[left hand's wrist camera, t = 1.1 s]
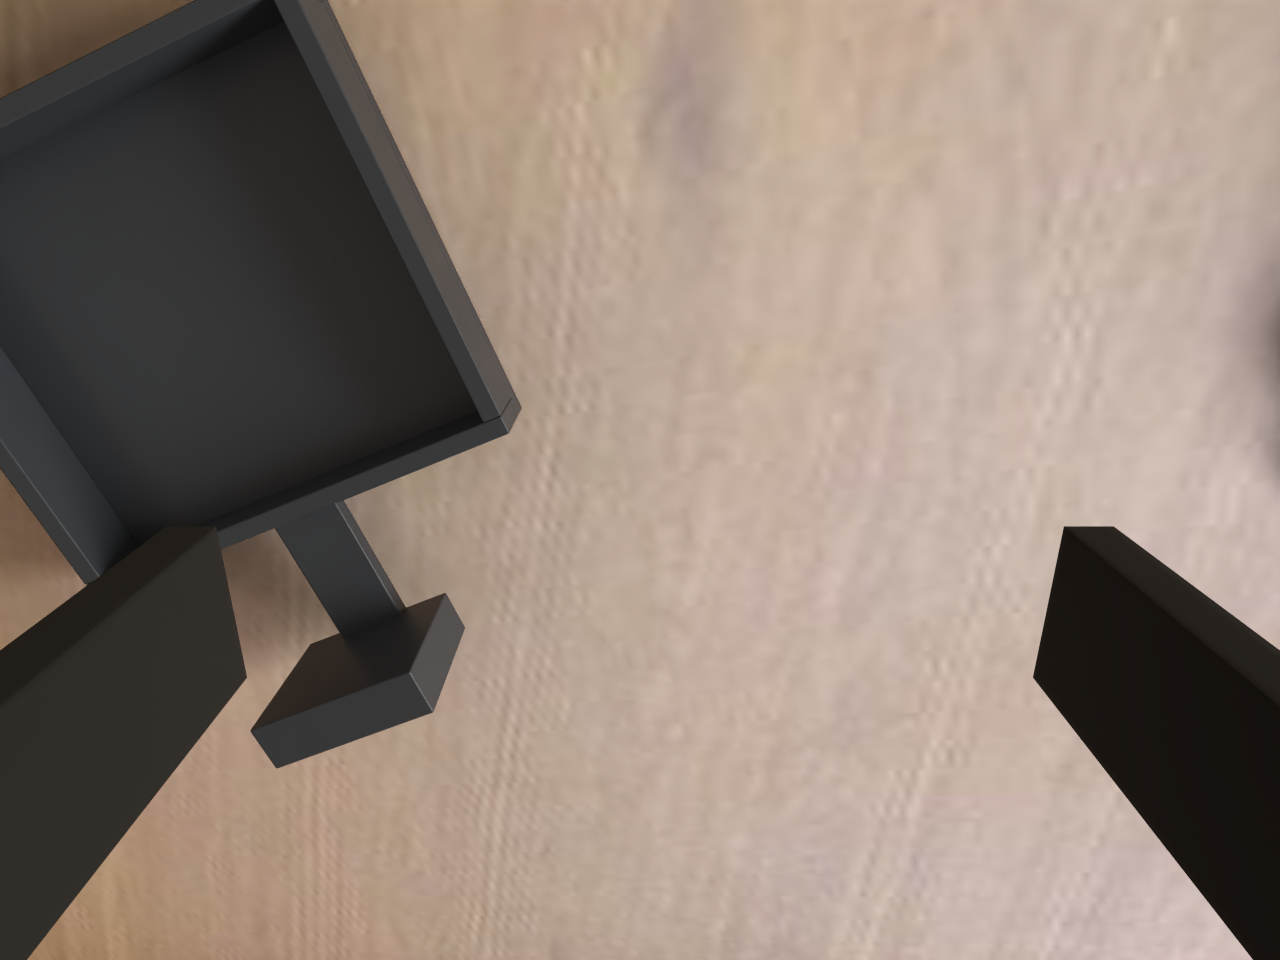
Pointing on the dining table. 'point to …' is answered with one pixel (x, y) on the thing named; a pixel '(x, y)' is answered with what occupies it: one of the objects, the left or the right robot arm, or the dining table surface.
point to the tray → (237, 330)
